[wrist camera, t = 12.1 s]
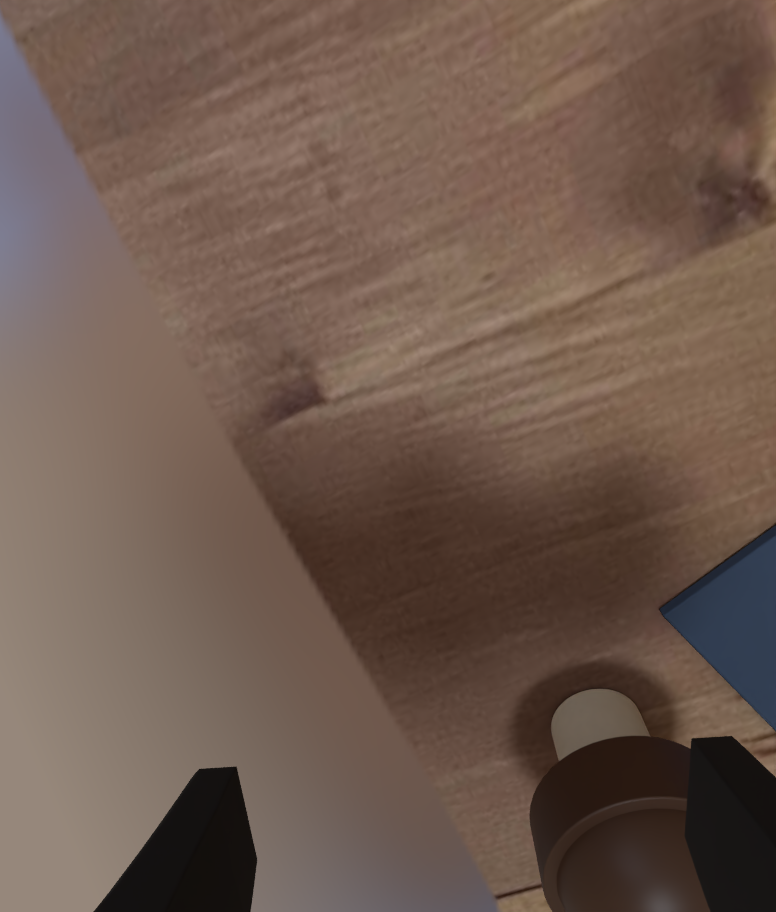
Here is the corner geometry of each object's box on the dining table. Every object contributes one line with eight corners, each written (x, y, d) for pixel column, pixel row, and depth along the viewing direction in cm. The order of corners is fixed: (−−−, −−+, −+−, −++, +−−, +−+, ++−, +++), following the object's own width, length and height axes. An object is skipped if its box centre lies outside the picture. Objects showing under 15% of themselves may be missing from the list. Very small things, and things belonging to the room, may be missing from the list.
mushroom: (511, 789, 23) (555, 1034, 17) (512, 658, 21) (561, 874, 15) (672, 784, 23) (782, 1031, 16) (686, 651, 21) (817, 868, 15)
